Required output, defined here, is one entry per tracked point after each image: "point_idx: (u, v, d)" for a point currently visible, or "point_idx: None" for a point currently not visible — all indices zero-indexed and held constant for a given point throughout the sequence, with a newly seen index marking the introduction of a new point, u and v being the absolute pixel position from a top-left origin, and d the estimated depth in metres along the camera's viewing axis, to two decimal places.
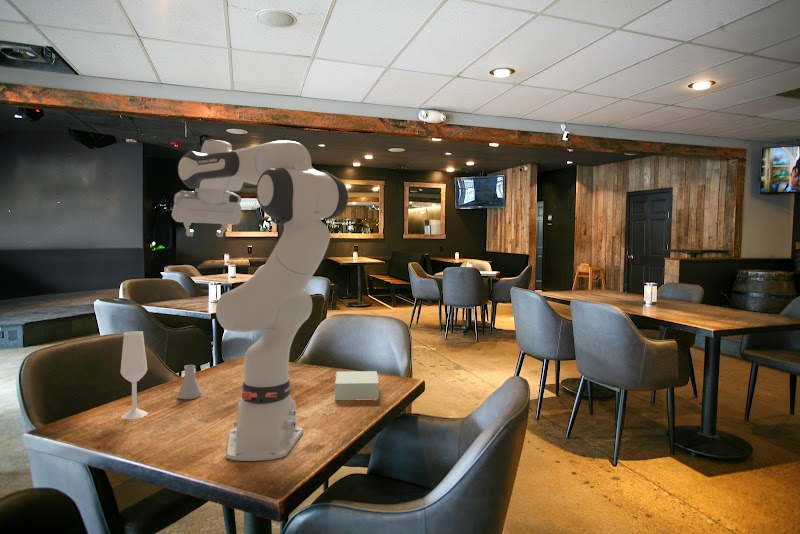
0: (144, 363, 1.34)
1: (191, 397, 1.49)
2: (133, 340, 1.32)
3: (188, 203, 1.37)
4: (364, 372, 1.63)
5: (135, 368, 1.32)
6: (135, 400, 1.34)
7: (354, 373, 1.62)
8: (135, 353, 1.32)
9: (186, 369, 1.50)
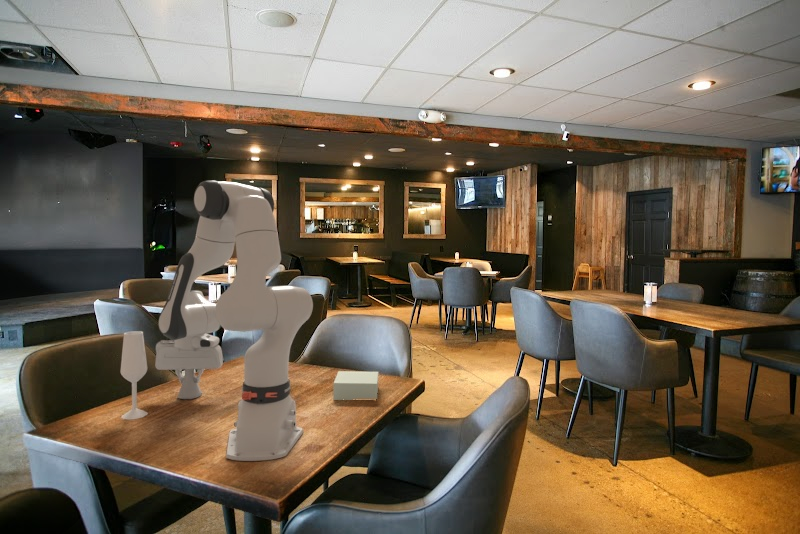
0: (144, 363, 1.34)
1: (191, 397, 1.49)
2: (133, 340, 1.32)
3: (164, 351, 1.49)
4: (365, 372, 1.63)
5: (135, 368, 1.32)
6: (135, 400, 1.34)
7: (355, 373, 1.62)
8: (135, 353, 1.32)
9: (186, 369, 1.50)
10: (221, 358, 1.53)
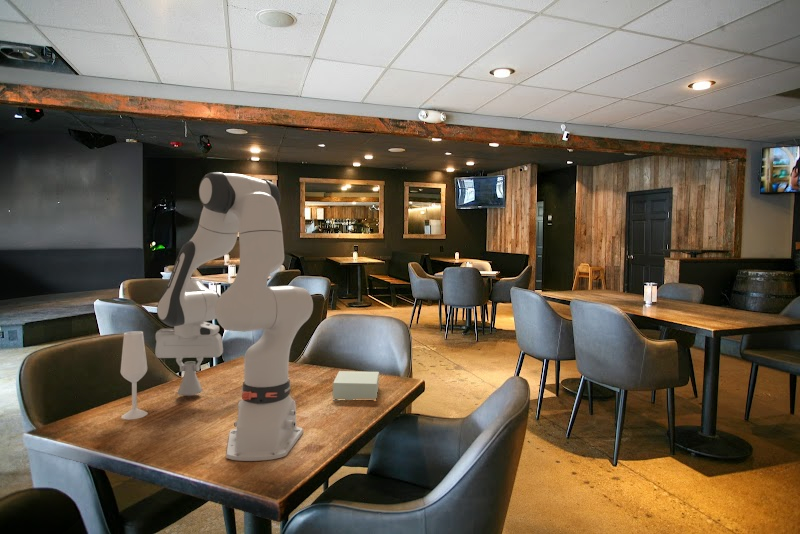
0: (144, 363, 1.34)
1: (190, 394, 1.48)
2: (133, 340, 1.32)
3: (164, 339, 1.48)
4: (365, 372, 1.63)
5: (135, 368, 1.32)
6: (135, 400, 1.34)
7: (355, 373, 1.62)
8: (135, 353, 1.32)
9: (186, 365, 1.50)
10: (221, 346, 1.52)
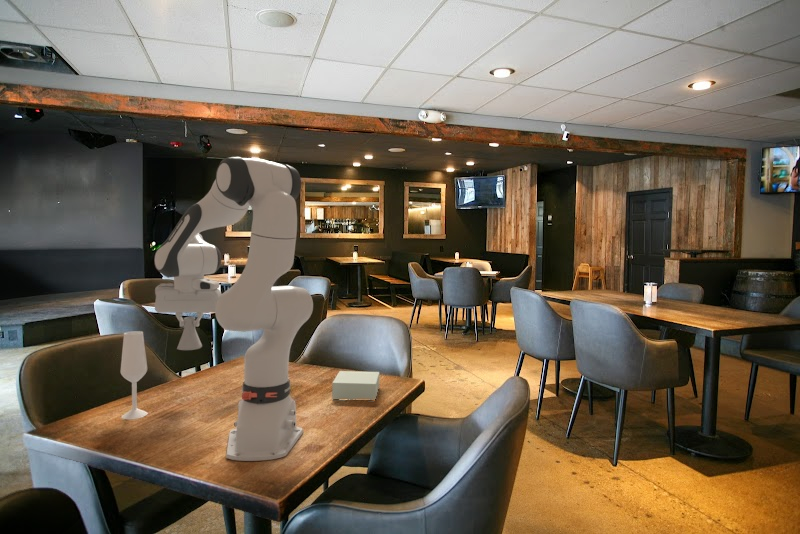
0: (144, 363, 1.34)
1: (190, 348, 1.48)
2: (133, 340, 1.32)
3: (164, 294, 1.48)
4: (366, 372, 1.63)
5: (135, 368, 1.32)
6: (135, 400, 1.34)
7: (356, 373, 1.62)
8: (135, 353, 1.32)
9: (186, 320, 1.49)
10: None
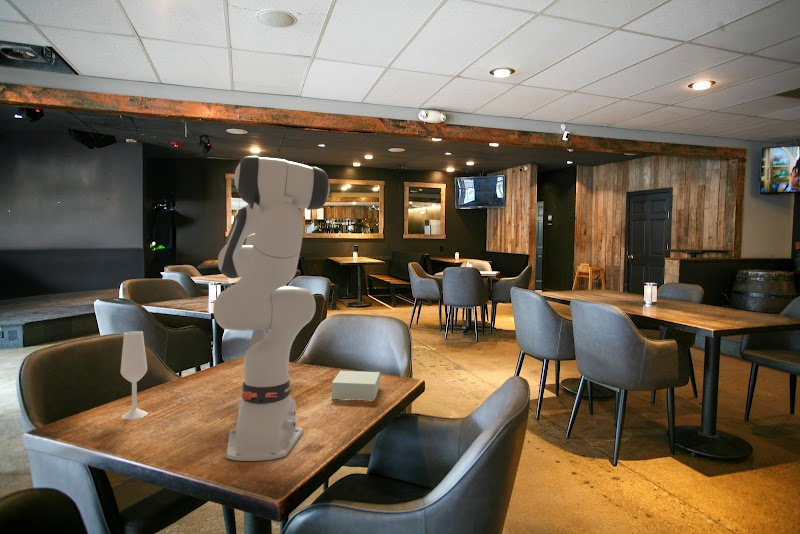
0: (144, 363, 1.34)
1: None
2: (133, 340, 1.32)
3: None
4: (366, 372, 1.63)
5: (135, 368, 1.32)
6: (135, 400, 1.34)
7: (356, 373, 1.62)
8: (135, 353, 1.32)
9: None
10: None
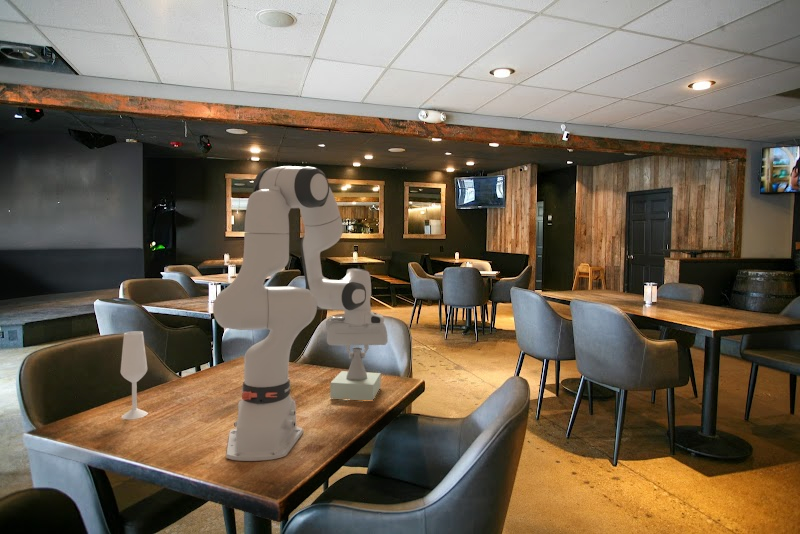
0: (144, 363, 1.34)
1: (360, 378, 1.54)
2: (133, 340, 1.32)
3: (335, 327, 1.54)
4: (367, 373, 1.63)
5: (135, 368, 1.32)
6: (135, 400, 1.34)
7: None
8: (135, 353, 1.32)
9: (355, 351, 1.56)
10: None
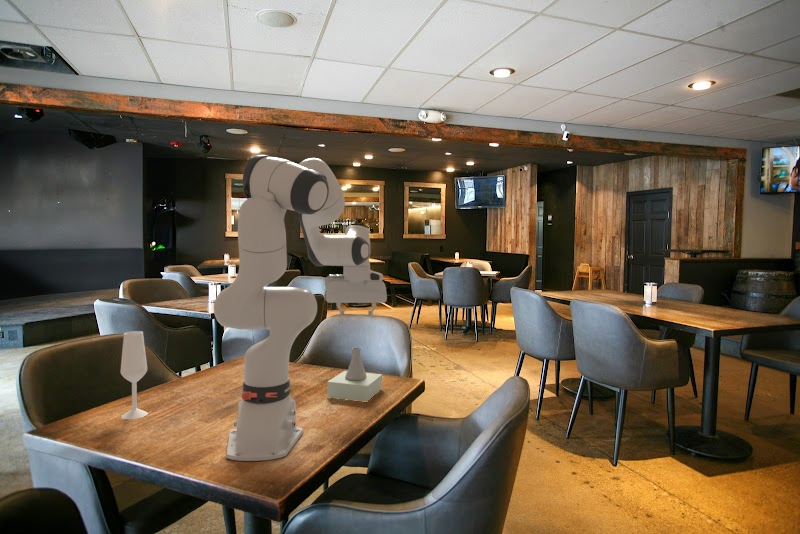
0: (144, 363, 1.34)
1: (358, 379, 1.54)
2: (133, 340, 1.32)
3: (334, 284, 1.53)
4: (368, 373, 1.62)
5: (135, 368, 1.32)
6: (135, 400, 1.34)
7: None
8: (135, 353, 1.32)
9: (353, 351, 1.56)
10: None
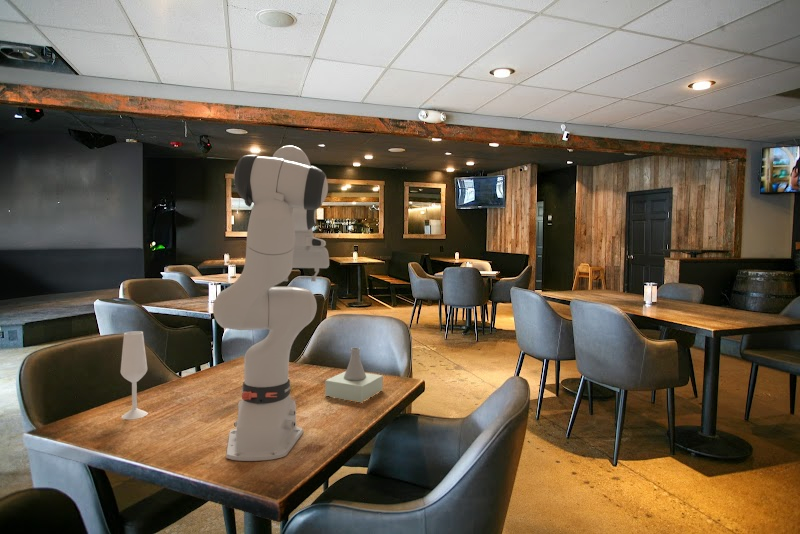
0: (144, 363, 1.34)
1: (355, 379, 1.54)
2: (133, 340, 1.32)
3: None
4: (369, 374, 1.61)
5: (135, 368, 1.32)
6: (135, 400, 1.34)
7: None
8: (135, 353, 1.32)
9: (352, 351, 1.56)
10: None
